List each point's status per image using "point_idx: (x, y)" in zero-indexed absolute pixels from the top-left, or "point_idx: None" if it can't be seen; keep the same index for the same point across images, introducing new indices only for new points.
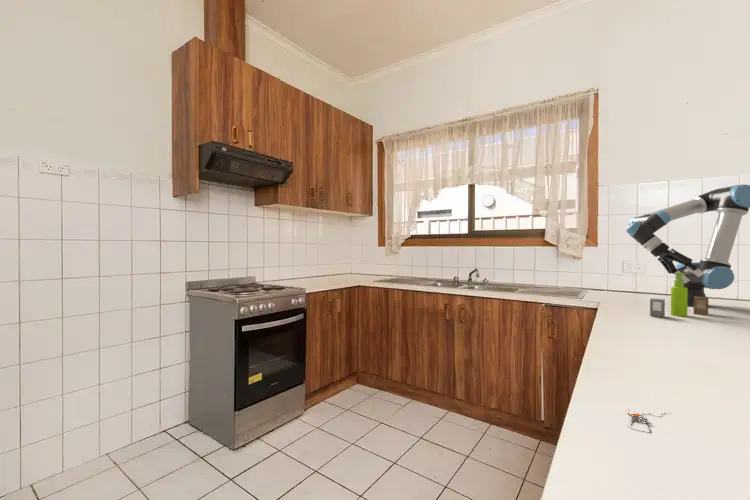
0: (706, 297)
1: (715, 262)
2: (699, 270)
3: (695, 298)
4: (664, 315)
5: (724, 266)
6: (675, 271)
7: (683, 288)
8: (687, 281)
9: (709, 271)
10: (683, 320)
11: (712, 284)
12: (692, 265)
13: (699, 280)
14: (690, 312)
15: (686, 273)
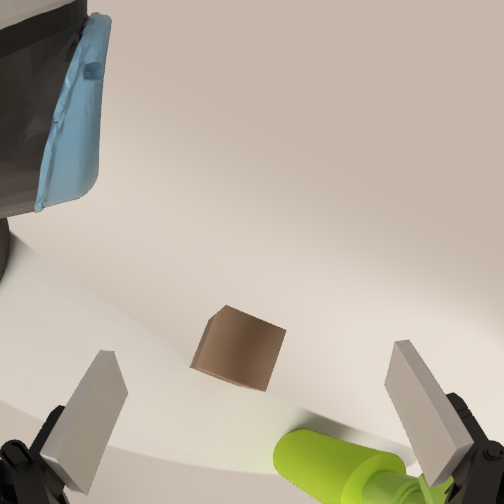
0: (244, 320)
1: (51, 15)
2: (425, 372)
3: (266, 384)
4: None
5: (96, 17)
6: (50, 477)
7: (405, 471)
8: (118, 375)
9: (66, 129)
10: None
11: (94, 183)
12: (474, 435)
13: (6, 213)
14: (193, 381)
15: None
